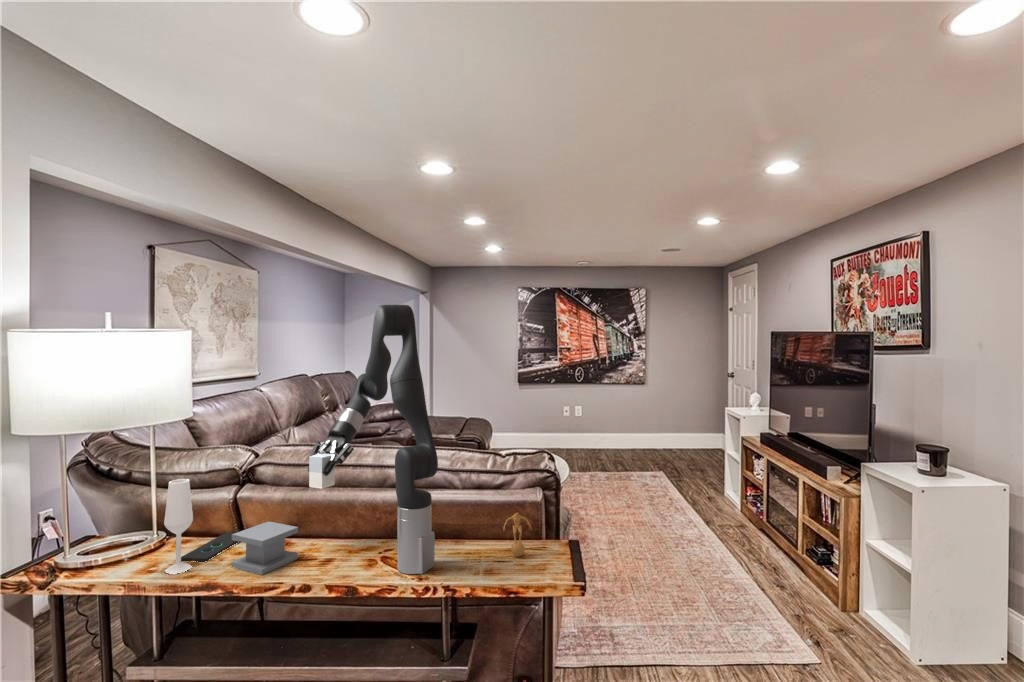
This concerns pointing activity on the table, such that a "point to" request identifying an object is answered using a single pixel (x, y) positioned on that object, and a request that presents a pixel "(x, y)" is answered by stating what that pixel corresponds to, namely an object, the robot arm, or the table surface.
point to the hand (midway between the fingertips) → (317, 472)
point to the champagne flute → (178, 518)
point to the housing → (320, 471)
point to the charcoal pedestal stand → (265, 547)
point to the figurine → (517, 547)
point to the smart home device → (210, 548)
